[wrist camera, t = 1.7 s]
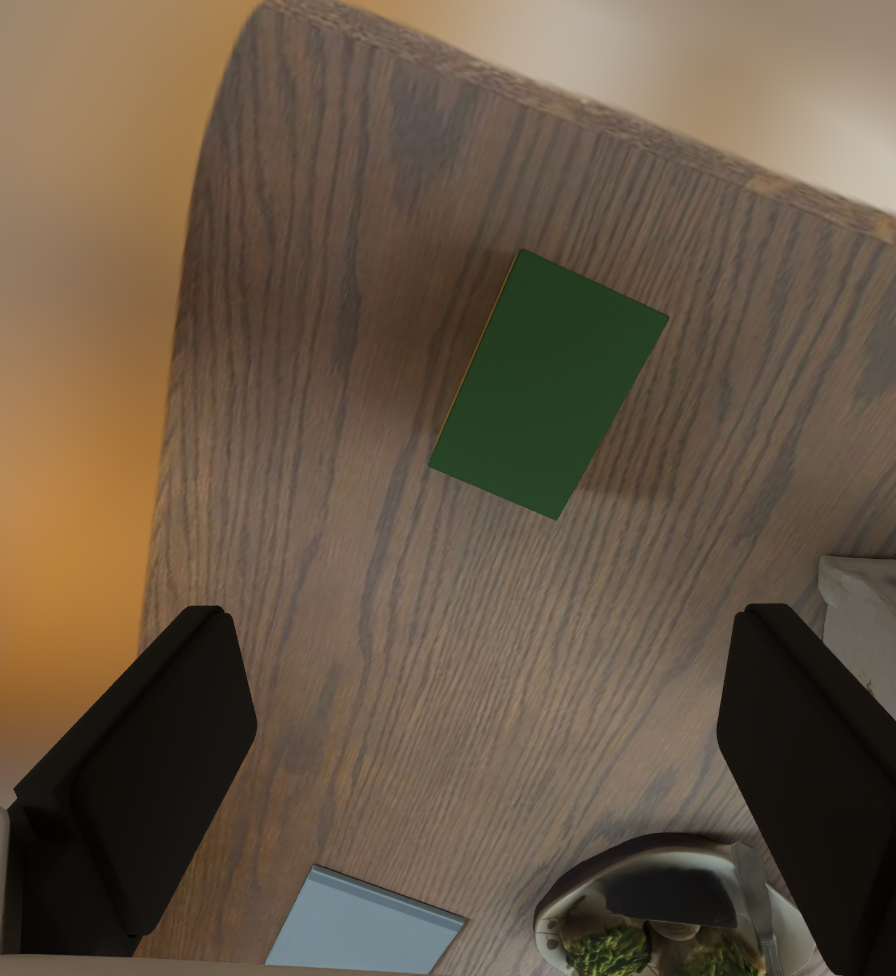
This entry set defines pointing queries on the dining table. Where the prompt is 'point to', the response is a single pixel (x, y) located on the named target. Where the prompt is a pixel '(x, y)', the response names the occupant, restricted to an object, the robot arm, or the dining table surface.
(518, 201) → the dining table surface
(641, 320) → the scrubber
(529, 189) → the dining table surface
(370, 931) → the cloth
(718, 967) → the salad plate
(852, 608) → the incense holder
